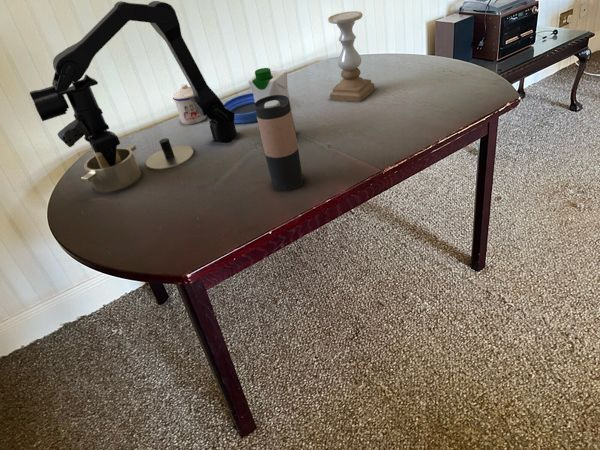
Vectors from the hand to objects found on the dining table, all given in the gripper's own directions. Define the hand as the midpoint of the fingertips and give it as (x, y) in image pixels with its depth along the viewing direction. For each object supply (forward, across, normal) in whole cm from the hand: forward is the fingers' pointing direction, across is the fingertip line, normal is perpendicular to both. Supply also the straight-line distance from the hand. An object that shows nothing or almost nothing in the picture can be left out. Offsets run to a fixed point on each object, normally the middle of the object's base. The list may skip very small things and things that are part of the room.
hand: (110, 163), depth 122 cm
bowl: (+6, -11, +47) cm, 49 cm away
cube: (+1, 0, 0) cm, 1 cm away
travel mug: (+6, +37, +31) cm, 49 cm away
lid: (+5, 0, +15) cm, 16 cm away
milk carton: (+6, +14, +43) cm, 46 cm away
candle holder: (+6, +5, +76) cm, 77 cm away
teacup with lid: (+6, -23, +34) cm, 41 cm away
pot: (+5, 0, 0) cm, 5 cm away
